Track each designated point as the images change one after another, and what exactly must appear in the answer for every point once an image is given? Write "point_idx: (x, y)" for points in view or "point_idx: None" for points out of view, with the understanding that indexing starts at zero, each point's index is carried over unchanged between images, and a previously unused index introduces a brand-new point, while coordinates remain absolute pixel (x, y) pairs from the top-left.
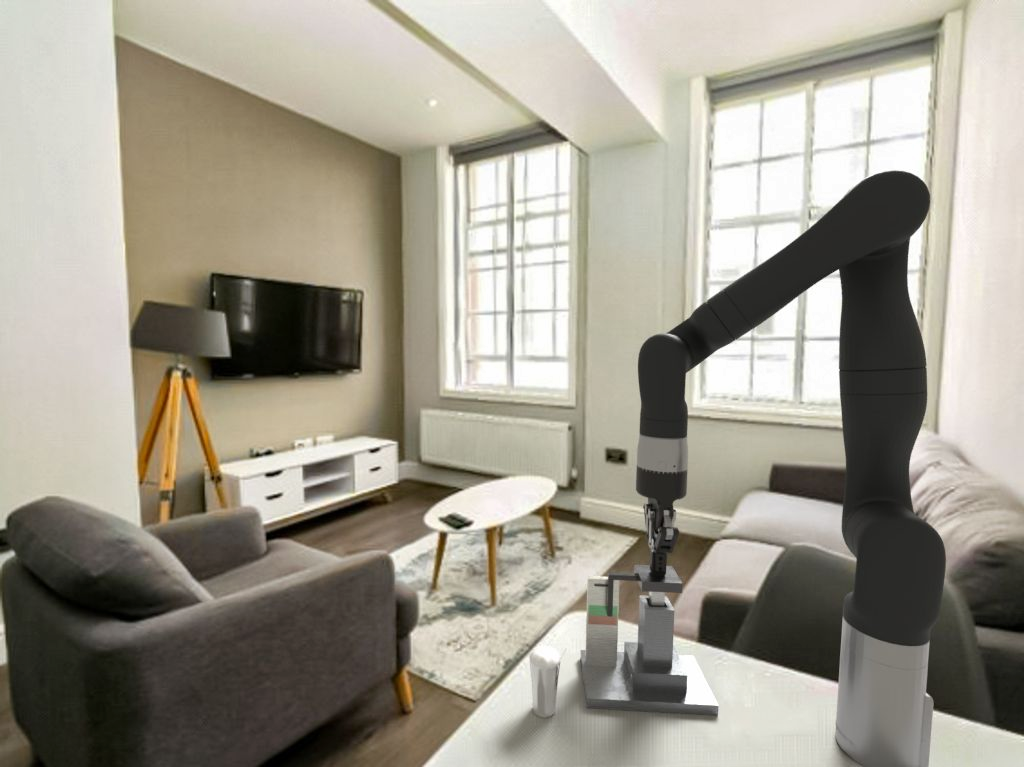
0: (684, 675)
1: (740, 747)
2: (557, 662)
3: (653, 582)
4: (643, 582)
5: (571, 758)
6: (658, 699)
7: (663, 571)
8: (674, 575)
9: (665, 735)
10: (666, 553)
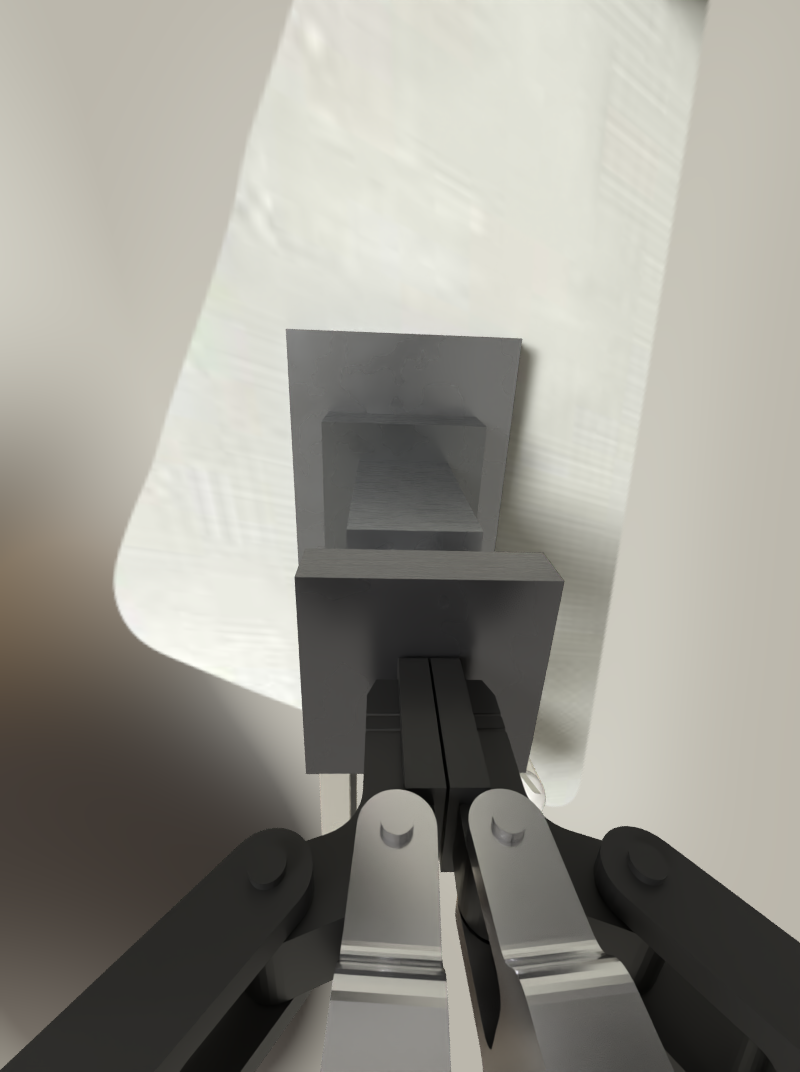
0: (485, 435)
1: (622, 324)
2: (535, 780)
3: (535, 724)
4: (525, 763)
5: (599, 665)
6: (491, 495)
7: (493, 699)
8: (447, 599)
9: (566, 492)
10: (488, 784)
